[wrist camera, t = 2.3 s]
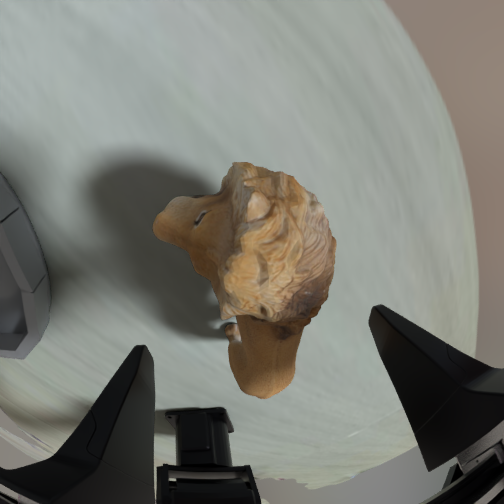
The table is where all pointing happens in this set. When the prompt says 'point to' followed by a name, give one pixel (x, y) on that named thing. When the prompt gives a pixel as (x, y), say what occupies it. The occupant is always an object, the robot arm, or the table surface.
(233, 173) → the lion figurine
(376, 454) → the table surface
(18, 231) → the round dish
